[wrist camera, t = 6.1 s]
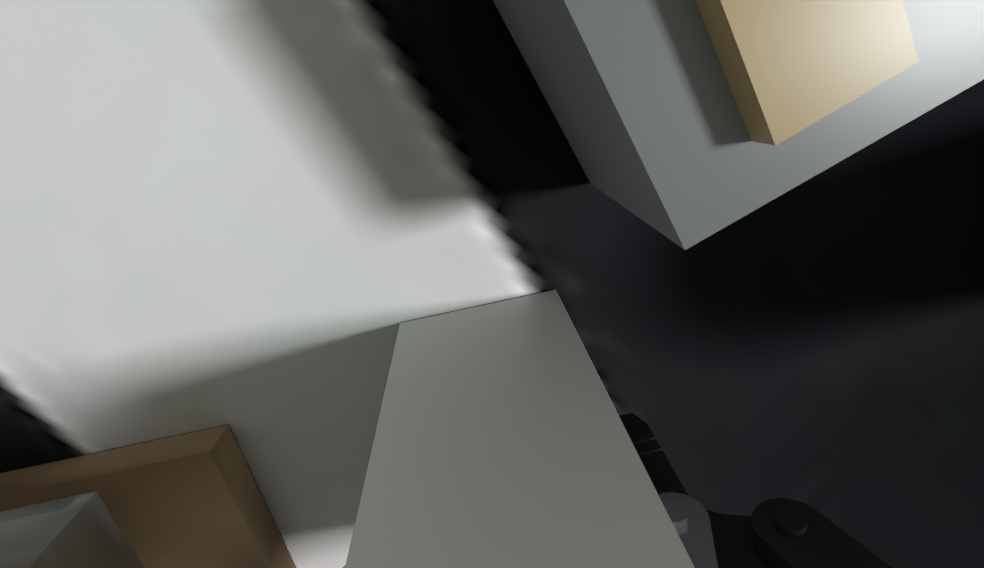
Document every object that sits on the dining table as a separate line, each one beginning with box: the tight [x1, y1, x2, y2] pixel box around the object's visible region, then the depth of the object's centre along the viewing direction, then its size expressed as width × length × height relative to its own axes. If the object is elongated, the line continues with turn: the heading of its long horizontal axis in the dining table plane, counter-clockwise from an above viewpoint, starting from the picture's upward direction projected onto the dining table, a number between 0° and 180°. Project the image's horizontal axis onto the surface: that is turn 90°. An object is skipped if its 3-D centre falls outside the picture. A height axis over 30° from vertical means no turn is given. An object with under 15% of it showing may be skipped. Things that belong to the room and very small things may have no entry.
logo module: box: [345, 290, 695, 568], centre depth 11 cm, size 4×7×10 cm, turn 12°
